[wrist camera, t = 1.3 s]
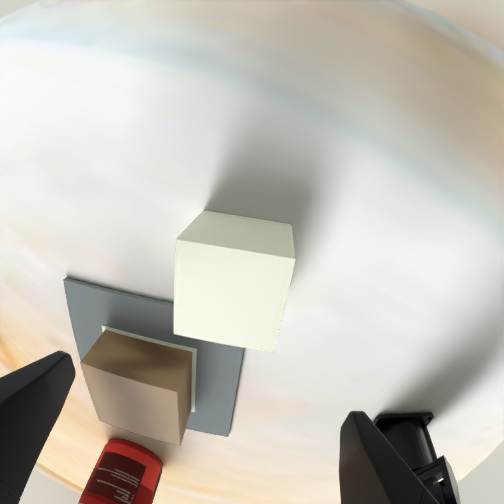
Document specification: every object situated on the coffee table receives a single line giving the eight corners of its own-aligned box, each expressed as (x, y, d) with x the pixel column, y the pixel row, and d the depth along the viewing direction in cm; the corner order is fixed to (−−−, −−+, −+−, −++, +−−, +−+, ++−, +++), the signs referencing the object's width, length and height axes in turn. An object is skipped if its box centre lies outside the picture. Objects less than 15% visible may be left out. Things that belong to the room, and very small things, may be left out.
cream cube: (291, 224, 17) (295, 259, 12) (276, 300, 19) (273, 352, 14) (204, 210, 17) (176, 239, 12) (197, 286, 19) (173, 333, 14)
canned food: (135, 469, 31) (113, 530, 21) (95, 437, 29) (64, 501, 19) (177, 469, 29) (156, 540, 19) (134, 436, 27) (102, 513, 17)
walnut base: (192, 351, 20) (177, 392, 17) (191, 409, 23) (180, 445, 19) (105, 329, 20) (80, 362, 17) (117, 389, 23) (99, 420, 19)
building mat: (249, 317, 19) (248, 321, 19) (228, 433, 25) (228, 437, 24) (66, 277, 20) (62, 280, 19) (94, 397, 25) (92, 400, 24)
